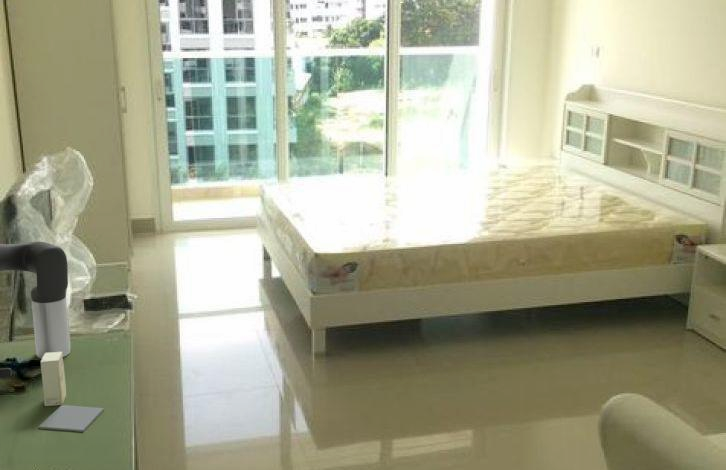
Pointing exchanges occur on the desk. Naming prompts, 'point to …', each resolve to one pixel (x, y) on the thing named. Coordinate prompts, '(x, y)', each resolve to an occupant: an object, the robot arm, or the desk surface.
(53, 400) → the skincare box
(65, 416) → the grey flat square slab
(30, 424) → the desk surface
